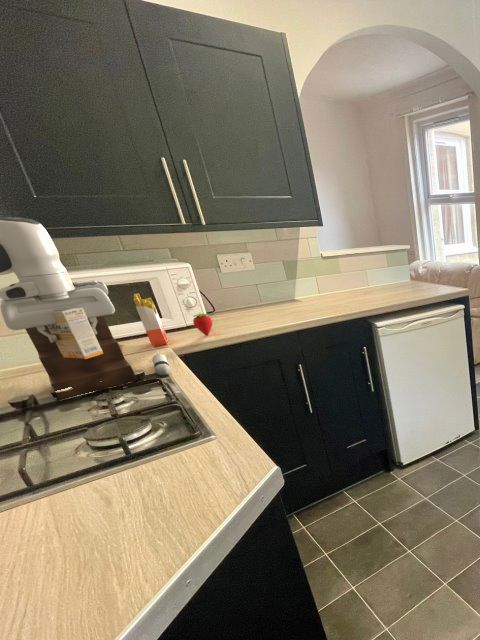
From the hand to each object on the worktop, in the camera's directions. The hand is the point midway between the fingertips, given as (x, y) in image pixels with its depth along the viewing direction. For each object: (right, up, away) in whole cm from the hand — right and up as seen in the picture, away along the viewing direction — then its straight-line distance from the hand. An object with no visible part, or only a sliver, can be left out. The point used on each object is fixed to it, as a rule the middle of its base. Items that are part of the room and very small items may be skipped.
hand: (74, 337), depth 111 cm
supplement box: (0, -5, +2) cm, 5 cm away
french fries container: (-12, +3, +42) cm, 44 cm away
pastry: (-24, -2, +34) cm, 42 cm away
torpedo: (+9, -8, +17) cm, 21 cm away
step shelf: (-2, -12, +8) cm, 15 cm away
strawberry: (-1, +6, +50) cm, 50 cm away
